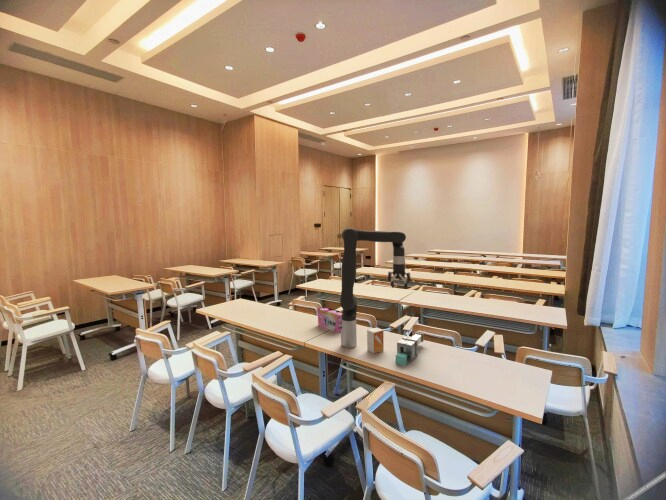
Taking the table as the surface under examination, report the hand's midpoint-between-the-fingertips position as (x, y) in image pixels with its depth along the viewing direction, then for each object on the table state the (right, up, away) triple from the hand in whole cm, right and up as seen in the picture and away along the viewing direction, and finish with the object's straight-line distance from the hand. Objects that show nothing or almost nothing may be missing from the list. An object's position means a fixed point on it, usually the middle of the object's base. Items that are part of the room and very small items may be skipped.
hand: (399, 288), depth 197 cm
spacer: (-3, -36, -25) cm, 44 cm away
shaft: (+6, -34, -11) cm, 36 cm away
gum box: (-44, -35, +36) cm, 66 cm away
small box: (-16, -38, -8) cm, 42 cm away
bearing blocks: (+1, -38, -19) cm, 42 cm away
